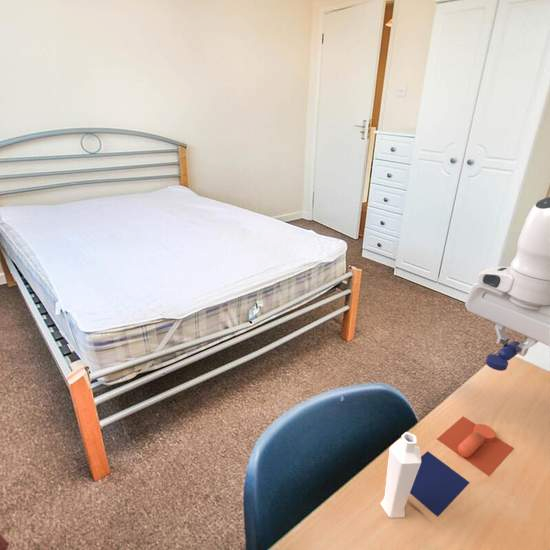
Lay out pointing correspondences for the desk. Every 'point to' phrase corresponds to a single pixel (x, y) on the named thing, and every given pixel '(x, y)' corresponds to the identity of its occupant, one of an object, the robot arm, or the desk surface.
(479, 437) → the orange stubby capsule part
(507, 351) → the navy bulbous segmented part
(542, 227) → the robot arm
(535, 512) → the desk surface
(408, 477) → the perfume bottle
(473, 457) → the terracotta mat
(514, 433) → the desk surface
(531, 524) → the desk surface
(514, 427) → the desk surface
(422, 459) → the navy mat
